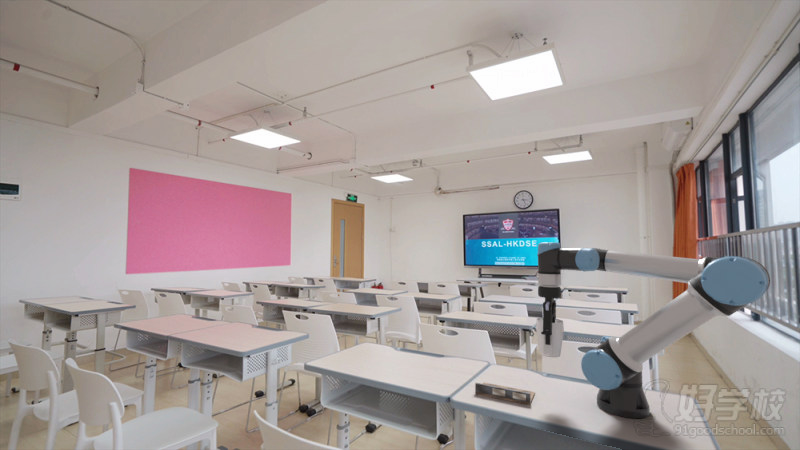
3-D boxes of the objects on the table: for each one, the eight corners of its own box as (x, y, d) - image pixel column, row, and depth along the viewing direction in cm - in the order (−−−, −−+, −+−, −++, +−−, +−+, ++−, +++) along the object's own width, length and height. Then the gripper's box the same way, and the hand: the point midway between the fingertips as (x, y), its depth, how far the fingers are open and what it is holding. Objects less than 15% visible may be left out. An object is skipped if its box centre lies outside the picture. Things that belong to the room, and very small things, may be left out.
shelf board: (534, 393, 133) (534, 383, 134) (529, 405, 124) (529, 394, 124) (483, 383, 142) (483, 374, 143) (475, 393, 133) (475, 383, 133)
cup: (566, 359, 122) (566, 323, 123) (538, 357, 124) (538, 322, 125) (561, 352, 131) (560, 318, 132) (534, 350, 133) (534, 317, 134)
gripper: (542, 282, 140) (543, 342, 139) (533, 287, 122) (533, 356, 120) (563, 284, 137) (564, 345, 135) (557, 289, 118) (558, 360, 116)
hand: (550, 350), depth 128 cm, fingers closed on cup, 9 cm apart
